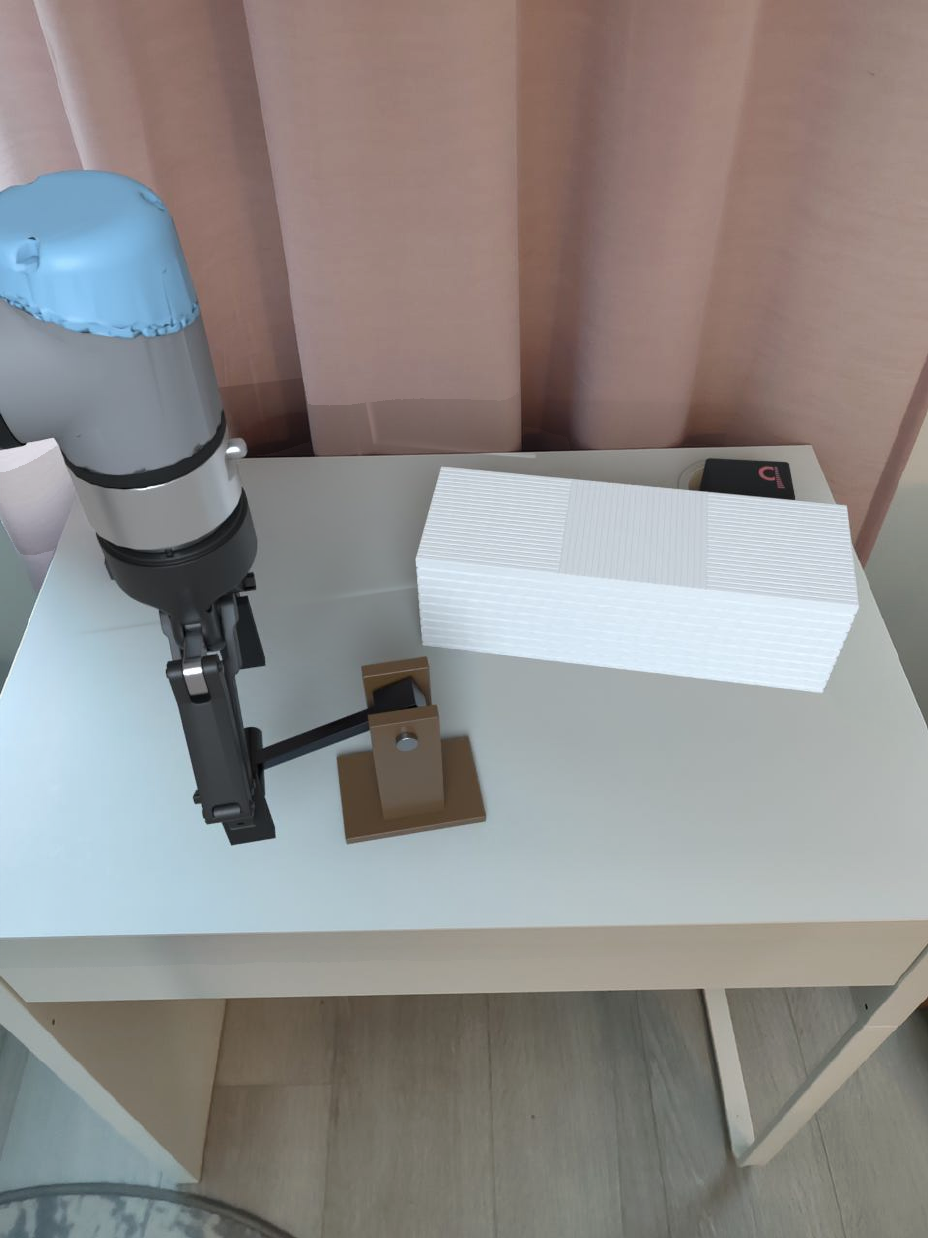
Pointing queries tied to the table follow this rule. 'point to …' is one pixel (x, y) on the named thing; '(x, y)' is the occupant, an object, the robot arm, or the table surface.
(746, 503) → the stack of papers
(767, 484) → the electronic device
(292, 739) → the lever
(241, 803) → the robot arm
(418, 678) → the bracket
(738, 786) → the table surface
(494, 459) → the table surface
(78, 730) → the table surface
